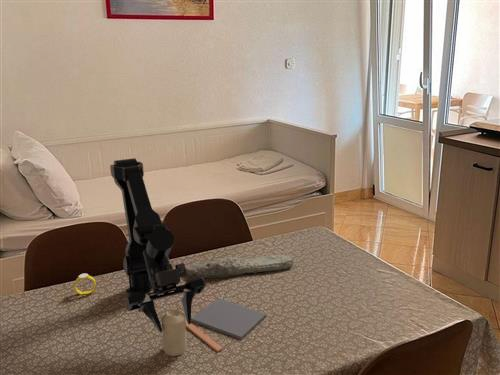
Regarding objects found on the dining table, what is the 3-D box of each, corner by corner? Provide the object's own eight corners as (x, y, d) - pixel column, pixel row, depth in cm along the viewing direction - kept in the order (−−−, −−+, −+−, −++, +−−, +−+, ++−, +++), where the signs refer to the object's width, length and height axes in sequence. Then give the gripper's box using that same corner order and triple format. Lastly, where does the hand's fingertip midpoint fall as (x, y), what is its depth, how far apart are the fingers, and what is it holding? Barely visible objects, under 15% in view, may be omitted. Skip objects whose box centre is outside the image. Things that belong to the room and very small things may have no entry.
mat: (191, 321, 126) (190, 318, 126) (217, 300, 136) (217, 298, 135) (241, 339, 118) (241, 336, 117) (266, 316, 127) (266, 314, 127)
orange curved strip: (177, 320, 126) (177, 318, 126) (182, 318, 127) (182, 316, 127) (217, 352, 113) (217, 350, 113) (222, 349, 114) (222, 347, 114)
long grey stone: (297, 275, 153) (288, 263, 162) (298, 260, 152) (289, 249, 161) (187, 282, 146) (185, 269, 155) (187, 266, 145) (185, 254, 154)
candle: (182, 357, 111) (180, 320, 109) (160, 354, 113) (157, 317, 110) (190, 343, 117) (187, 307, 114) (168, 341, 118) (166, 305, 115)
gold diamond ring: (75, 297, 140) (71, 279, 138) (76, 293, 142) (72, 275, 140) (97, 293, 141) (93, 275, 139) (97, 289, 143) (93, 271, 142)
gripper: (123, 262, 107) (140, 330, 101) (201, 246, 115) (221, 307, 109) (119, 279, 116) (134, 342, 110) (192, 263, 124) (209, 321, 118)
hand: (175, 327), depth 111 cm, fingers open, 7 cm apart
